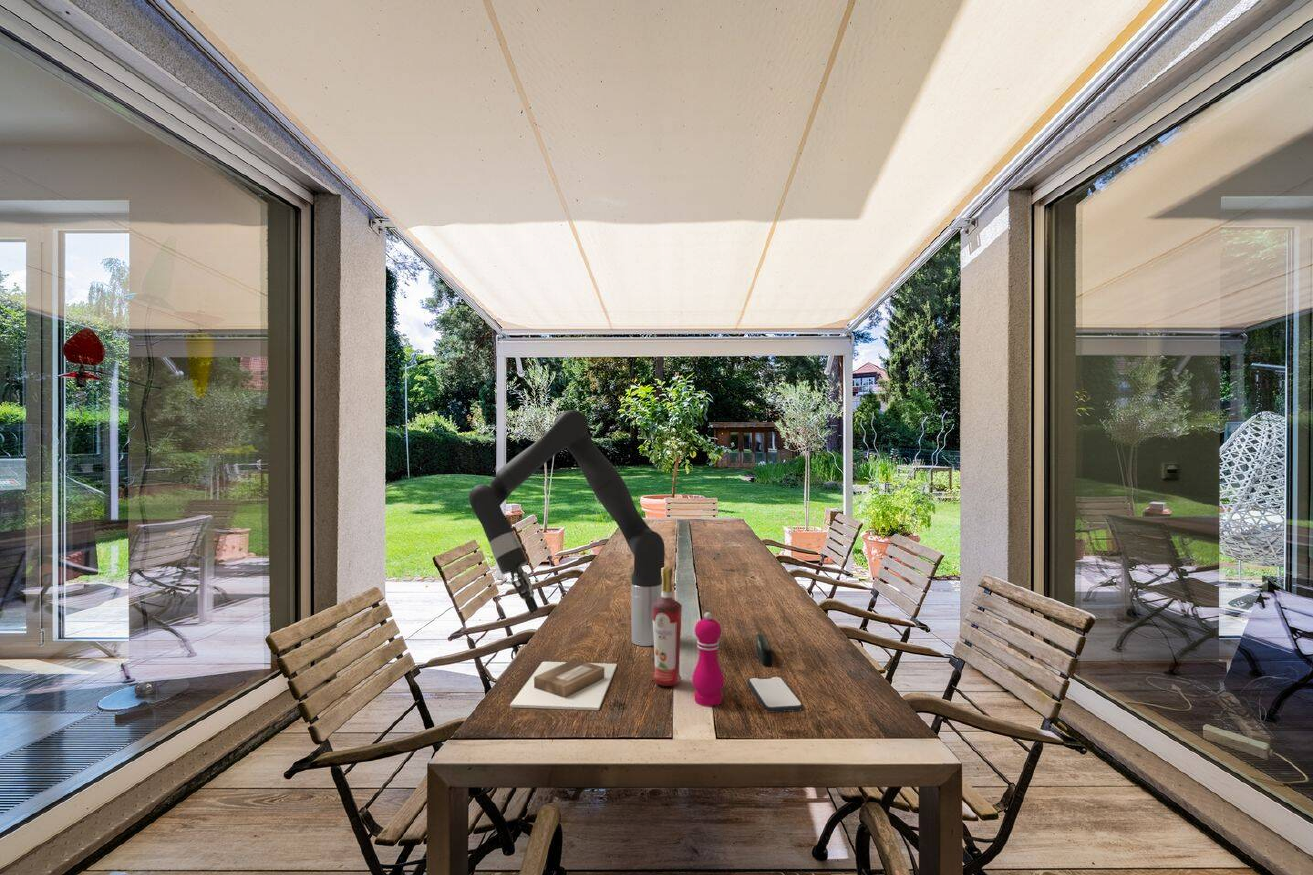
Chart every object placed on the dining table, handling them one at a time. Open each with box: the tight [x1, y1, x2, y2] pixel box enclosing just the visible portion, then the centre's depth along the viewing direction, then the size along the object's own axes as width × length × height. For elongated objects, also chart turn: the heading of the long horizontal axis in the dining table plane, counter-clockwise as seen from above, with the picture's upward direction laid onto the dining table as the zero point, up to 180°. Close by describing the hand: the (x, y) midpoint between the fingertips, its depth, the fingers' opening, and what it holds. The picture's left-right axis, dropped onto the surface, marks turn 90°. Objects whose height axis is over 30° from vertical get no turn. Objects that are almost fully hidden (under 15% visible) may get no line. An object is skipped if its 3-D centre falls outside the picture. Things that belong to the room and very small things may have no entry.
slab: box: [534, 658, 604, 698], centre depth 140 cm, size 3×14×10 cm
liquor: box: [652, 566, 683, 687], centre depth 142 cm, size 7×7×28 cm
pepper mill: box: [692, 611, 725, 707], centre depth 132 cm, size 7×7×20 cm
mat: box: [509, 661, 618, 711], centre depth 140 cm, size 20×26×1 cm
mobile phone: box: [754, 633, 773, 667], centre depth 159 cm, size 5×3×15 cm
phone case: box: [747, 676, 804, 713], centre depth 134 cm, size 9×2×16 cm
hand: (534, 611), depth 153 cm, fingers closed
